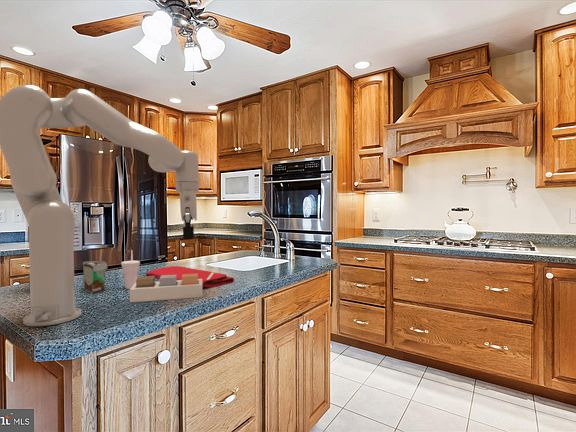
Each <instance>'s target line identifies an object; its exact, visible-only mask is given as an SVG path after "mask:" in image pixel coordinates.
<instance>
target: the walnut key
mask: <svg viewBox="0 0 576 432" xmlns="http://www.w3.org/2000/svg"><path fill="white" fill-rule="evenodd" d="M155 282H156V278H155V276H147V275H146V276H144V275H143V276H138V278H137V279H136V288H141V287H154V286H155Z"/></svg>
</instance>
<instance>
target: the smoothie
mask: <svg viewBox="0 0 576 432" xmlns="http://www.w3.org/2000/svg"><path fill="white" fill-rule="evenodd" d="M133 256H134V254H133V249H131V250H130V260H125V261H121V263H120V265H121V267H122V273H123V274H122V275H123V280H124V287H125V290H130V289H131V288H132V286H133V285H134V284H135V283H136V279H137V278H138V277H139V269H140V265H141V261H140V260H134V259H133V258H134V257H133Z"/></svg>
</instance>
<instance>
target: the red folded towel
mask: <svg viewBox="0 0 576 432" xmlns="http://www.w3.org/2000/svg"><path fill="white" fill-rule="evenodd" d="M197 273H198V279H202V288H211V289H212V288H216V287H221V286H224V285H229V284H234V283H233V282H235V278H234V277H233V276H227V274H225V273H221V272H220V273H219V272H215V271H214V272H213V271H210V270H203V269H196V268H189V267H186V266H185V267H184V266H179V265H178V266H177V265H176V266H175V265H173V266H165V267H159V268H156V269H152V270H149V271H147V272H146V273H145V275H146V276H147V275H148V276H155V279H159V280H160V277H161V275H177V280H182V275H183V274H197Z"/></svg>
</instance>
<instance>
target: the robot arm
mask: <svg viewBox="0 0 576 432" xmlns="http://www.w3.org/2000/svg"><path fill="white" fill-rule="evenodd" d="M84 126H87V127H88V128H90V129H92V130H93V131H95V132H96V133H98V134H99V135H101V136H102V137H104V138H105V139H107V140H108V141H111V143H112V144H115V145H118V146H121V147H124V148H125V147H126V148H131V149H134V150H137V151H140V152H143V153H144V154H145V155H148V159H147V160H148V162H147V163H148V164H149V167H150V168H151V169H152V170H153V171H155V172H157V173H171V172H172V173H175V174H174V175H175V193H179V208H180V217H181V221H182V222H183V226H182V238H183V240H193V239H194V236H195V235H194V234H195V231H194V230H195V229H194V227H195V226H194V225H193V224H194V223H193V222H194V221H197V220H198V216H197V215H198V213H197V208H198V207H197V205H198V204H197V193H199V192H200V188H199V187H200V185H199V182H200V181H199V179H200V178H199V176H200V175H199V156H198V153H197V152H196V151H193V150H181V149H180V148H179V147H178V146H177V145H176V144H174V143H173V142H172V141H171V140H169V139H167V138H166V137H164V136H163V135H162V134H160V132H157V131H155V130H153V129H150V128H149V127H147V126H144V125H142V124H140V123H138V122H135V121H133V120H131V119H130V118H128V117H127V116H125V114H123V113H121V111H119V110H117V109H116V108H114V107H113V106H112V105H110V104H109V103H107V101H104V100H103V99H102V98H101V97H99V96H97V95H96V94H95V93H93V92H92V91H90V90H88V89H84V88H75V89H73V90H71V91H69V93H68V94H67V95H66V96H65V97H50V95H48V93H47V91H46V90H44V89H42V88H41V87H39V86H37V85H34V84H21V85H17V86H15V87H13V88H11V89H10V90H8V91H7V92H6V93H4V94H3V95H2V97H1V98H0V149H1V152H2V156H3V158H4V160H5V163H6V166H7V167H8V170H9V174H10V177H9V178H10V181H9V182H10V184H11V187H12V189H13V193H14V194H15V197H16V199H17V201H18V203H19V206H20V208H21V211H22V213H23V215H24V218H25V220H26V222H27V223H28V226H29V242H28V259H29V260H28V262H29V273H30V285H29V290H30V291H29V300H30V301H29V304H30V307H29V308H30V310H29V311H30V314H27V315H26V316H25V317H23V319H22V324H23V325H24V326H27V327H44V326H45V327H46V326H53V325H58V324H63V323H67V322H70V321H73V320H75V319H77V318H79V317H81V315H82V309H81V308H78V307H76V304H75V302H76V301H75V257H74V256H75V255H74V250H75V249H74V248H75V247H74V245H75V244H74V243H75V240H74V239H75V226H76V225H75V224H76V223H75V222H76V221H75V219H76V218H75V214H74V212H73V210H72V209H71V207H70V206H69V205H68V204H67V203H66V202H64V201H63V200H62V198H61V195H60V192H59V191H58V190H59V189H58V187H57V182H58V181H57V180H58V178H57V173H56V172H55V170H54V167H53V166H52V164H51V161H50V159H49V156H48V154H47V152H46V148H45V146H44V144H43V140H42V138H41V134H40V130H41V129H43V130H46V129H64V128H65V129H66V128H77V127H78V128H79V127H84Z"/></svg>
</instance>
